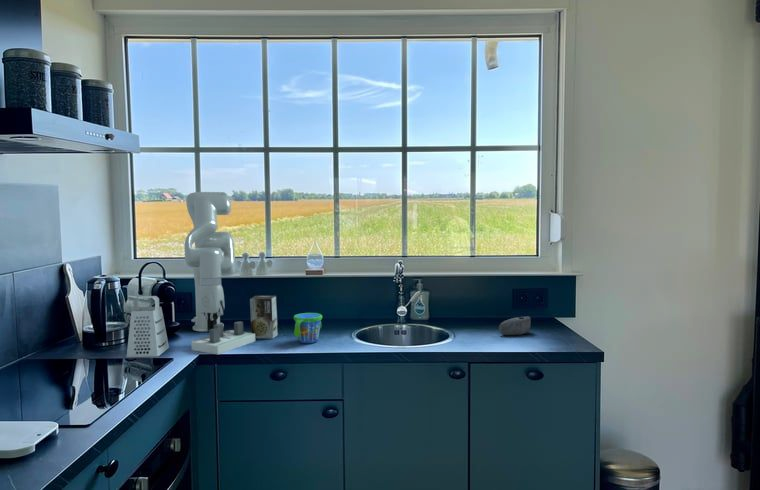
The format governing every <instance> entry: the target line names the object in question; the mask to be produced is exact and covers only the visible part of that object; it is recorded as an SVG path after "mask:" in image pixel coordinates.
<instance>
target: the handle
mask: <svg viewBox="0 0 760 490" xmlns="http://www.w3.org/2000/svg"><path fill="white" fill-rule="evenodd" d="M208 332H209V336H210V341H208V342H211V343H216V342H219V341H221V340H220V331H219V329H218V328H214V329H211V330H209V331H208Z"/></svg>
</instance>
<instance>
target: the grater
mask: <svg viewBox="0 0 760 490" xmlns="http://www.w3.org/2000/svg"><path fill="white" fill-rule="evenodd" d="M139 299H152V300H154V306H140V307H139ZM128 331H129V332H128V340H127V350H126V358H146V357H148V358H149V357H151V358H152V357H159V356H160V355H161V354H163V353H164V352H165V351H167V350H168V349H169V348H170V347H169V346H170V345H169V342H168V341H169V340H168V335H167V330H166V324H165V319H164V313H163V309H162V306H160V298H159V297H158V296H157V295H140V296H138V297H135V299H133V310H131V314H130V321H129V330H128ZM140 352H141V353H140ZM147 352H148V353H147Z"/></svg>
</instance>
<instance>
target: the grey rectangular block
mask: <svg viewBox="0 0 760 490" xmlns="http://www.w3.org/2000/svg"><path fill="white" fill-rule="evenodd" d="M223 324H224V323H223ZM223 324H216V325H213V326H214V328H218V329H219V331H220V337H222V336H225V335H223V332H224V327H223Z"/></svg>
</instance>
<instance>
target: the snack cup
mask: <svg viewBox="0 0 760 490" xmlns="http://www.w3.org/2000/svg"><path fill="white" fill-rule="evenodd" d="M322 319H323V315H322V314H321V313H318V312H304V313H303V312H302V313H298V314H294V315H293V320H294V322H295V324H294V330H293V335H294V337H296V338H297V340H298V342H299V343H301V344H314V343H316V342H318V341H319V339H320V338H319V336H320V330H321V329H322V326H323V325H322Z"/></svg>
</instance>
